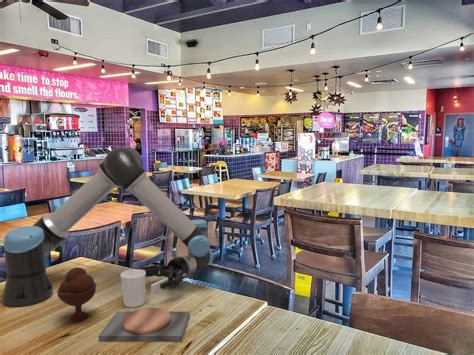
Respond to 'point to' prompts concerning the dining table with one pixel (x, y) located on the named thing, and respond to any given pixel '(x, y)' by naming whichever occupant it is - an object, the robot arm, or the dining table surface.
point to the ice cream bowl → (77, 291)
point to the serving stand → (146, 325)
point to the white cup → (133, 287)
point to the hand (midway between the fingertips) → (137, 284)
